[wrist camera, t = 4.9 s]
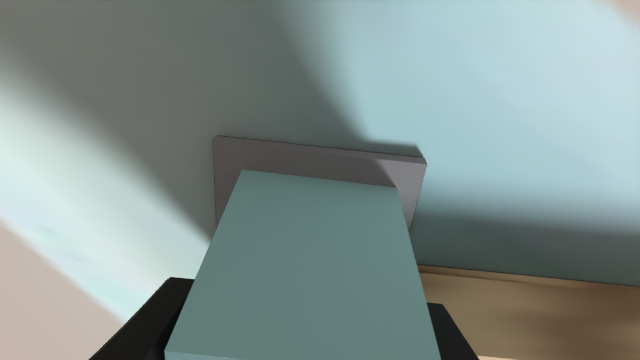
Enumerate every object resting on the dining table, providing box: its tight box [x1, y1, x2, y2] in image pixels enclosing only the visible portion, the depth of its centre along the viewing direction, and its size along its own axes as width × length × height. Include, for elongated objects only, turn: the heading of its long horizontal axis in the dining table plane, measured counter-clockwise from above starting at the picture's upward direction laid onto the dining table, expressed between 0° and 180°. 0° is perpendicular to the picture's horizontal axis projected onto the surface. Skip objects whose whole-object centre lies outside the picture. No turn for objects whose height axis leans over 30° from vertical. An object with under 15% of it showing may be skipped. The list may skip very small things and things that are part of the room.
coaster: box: [213, 136, 427, 233], centre depth 13 cm, size 6×6×1 cm
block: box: [164, 169, 441, 360], centre depth 10 cm, size 4×4×6 cm
